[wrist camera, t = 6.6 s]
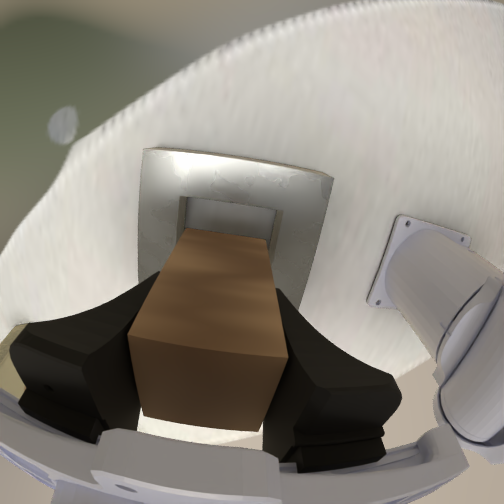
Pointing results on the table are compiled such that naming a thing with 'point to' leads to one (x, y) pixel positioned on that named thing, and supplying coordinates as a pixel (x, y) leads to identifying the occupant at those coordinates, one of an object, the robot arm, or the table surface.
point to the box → (10, 365)
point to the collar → (234, 191)
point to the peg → (210, 334)
